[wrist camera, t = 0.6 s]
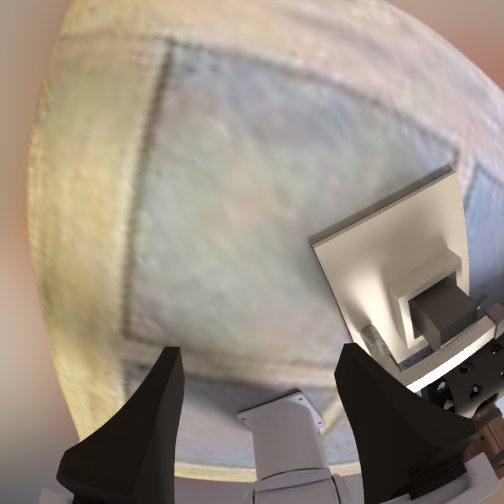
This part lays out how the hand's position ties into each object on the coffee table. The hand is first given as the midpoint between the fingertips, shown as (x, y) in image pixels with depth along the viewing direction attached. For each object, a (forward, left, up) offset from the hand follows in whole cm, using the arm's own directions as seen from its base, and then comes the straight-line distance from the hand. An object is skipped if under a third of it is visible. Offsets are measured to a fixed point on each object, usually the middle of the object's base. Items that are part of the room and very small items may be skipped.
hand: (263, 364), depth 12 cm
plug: (-11, -14, -10) cm, 20 cm away
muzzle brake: (-27, -25, -11) cm, 38 cm away
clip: (-11, -11, -9) cm, 18 cm away
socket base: (-10, -12, -10) cm, 18 cm away
